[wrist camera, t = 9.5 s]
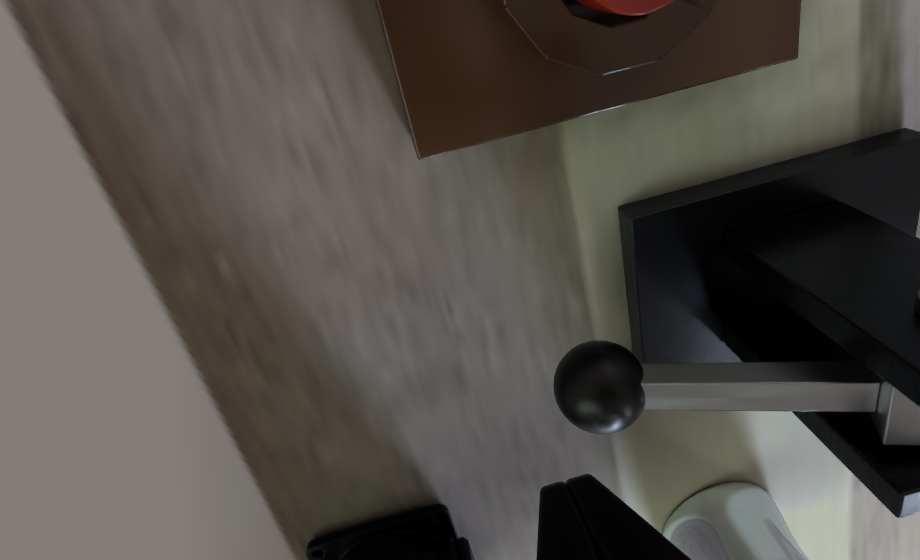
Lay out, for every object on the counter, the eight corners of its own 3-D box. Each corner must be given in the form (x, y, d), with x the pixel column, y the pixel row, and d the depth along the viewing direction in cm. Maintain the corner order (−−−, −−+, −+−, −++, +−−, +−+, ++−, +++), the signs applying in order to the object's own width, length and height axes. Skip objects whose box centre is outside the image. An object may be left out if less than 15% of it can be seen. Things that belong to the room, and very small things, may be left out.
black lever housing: (634, 377, 25) (778, 588, 17) (617, 206, 21) (793, 364, 13) (879, 308, 26) (1145, 479, 17) (905, 127, 22) (1265, 229, 13)
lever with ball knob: (565, 390, 22) (555, 452, 19) (553, 323, 20) (541, 381, 18) (960, 390, 18) (1010, 468, 15) (980, 308, 16) (1039, 380, 14)
